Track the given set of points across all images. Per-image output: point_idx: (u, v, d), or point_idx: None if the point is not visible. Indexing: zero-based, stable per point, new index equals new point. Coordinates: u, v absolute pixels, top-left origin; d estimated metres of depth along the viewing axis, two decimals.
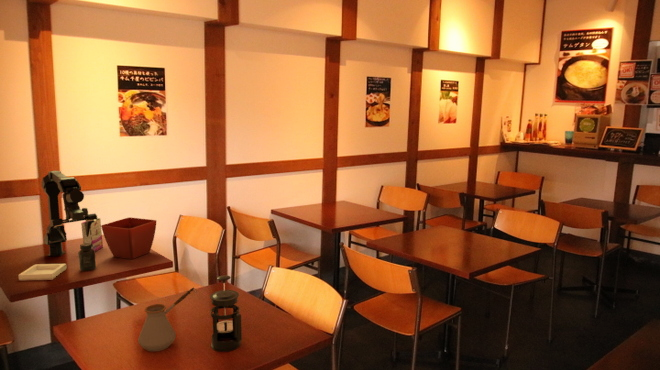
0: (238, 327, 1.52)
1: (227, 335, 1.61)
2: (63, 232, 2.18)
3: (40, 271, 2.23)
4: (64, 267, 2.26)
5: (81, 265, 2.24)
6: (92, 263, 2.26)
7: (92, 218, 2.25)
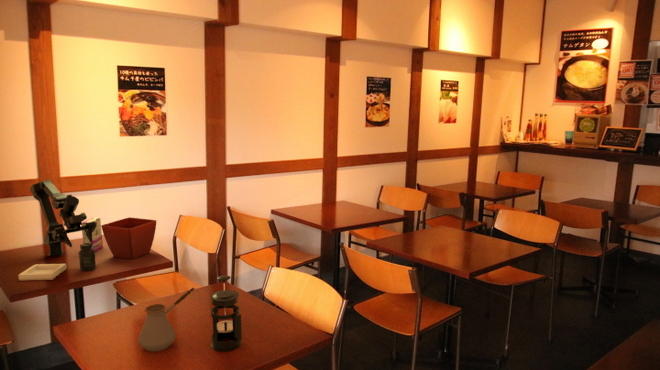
0: (238, 327, 1.52)
1: (227, 335, 1.61)
2: (67, 239, 2.25)
3: (40, 271, 2.23)
4: (64, 267, 2.26)
5: (81, 265, 2.24)
6: (92, 263, 2.26)
7: (92, 224, 2.35)
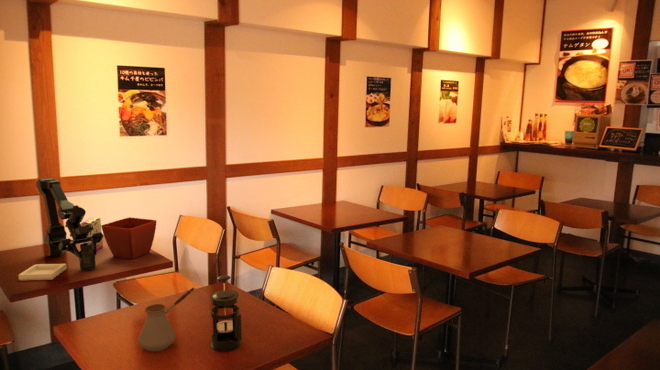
0: (238, 327, 1.52)
1: (227, 335, 1.61)
2: (76, 250, 2.23)
3: (40, 271, 2.23)
4: (64, 267, 2.26)
5: (81, 265, 2.24)
6: (92, 263, 2.26)
7: (98, 235, 2.32)
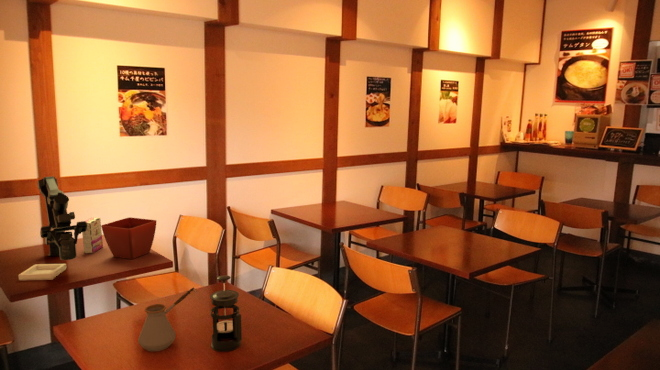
0: (238, 327, 1.52)
1: (227, 335, 1.61)
2: (55, 238, 2.19)
3: (40, 271, 2.23)
4: (64, 267, 2.26)
5: (60, 254, 2.20)
6: (71, 252, 2.20)
7: (81, 224, 2.26)
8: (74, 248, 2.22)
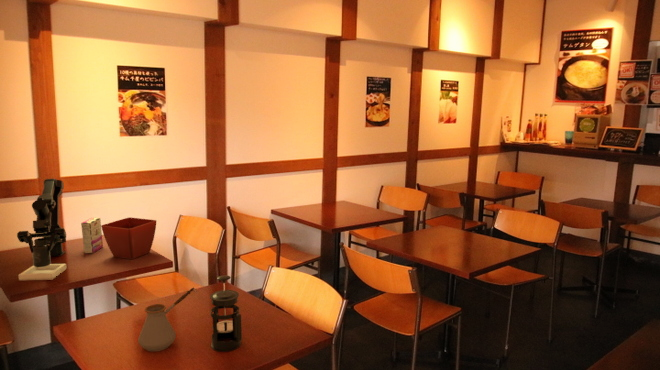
0: (238, 327, 1.52)
1: (227, 335, 1.61)
2: (29, 243, 2.17)
3: (40, 271, 2.23)
4: (64, 267, 2.26)
5: (33, 260, 2.17)
6: (42, 260, 2.17)
7: (58, 231, 2.22)
8: (46, 256, 2.18)
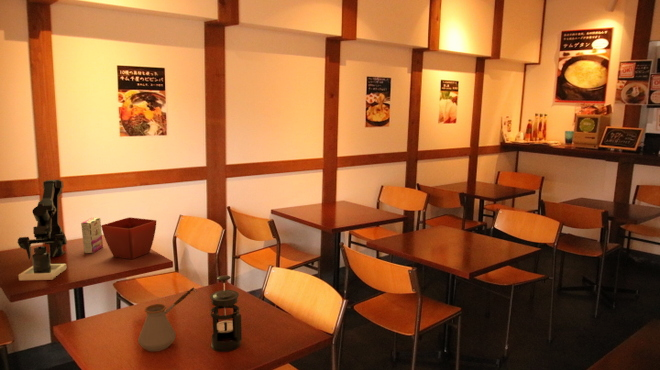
0: (238, 327, 1.52)
1: (227, 335, 1.61)
2: (27, 250, 2.17)
3: None
4: (64, 267, 2.26)
5: (33, 268, 2.18)
6: (42, 268, 2.17)
7: (58, 237, 2.22)
8: (46, 264, 2.18)
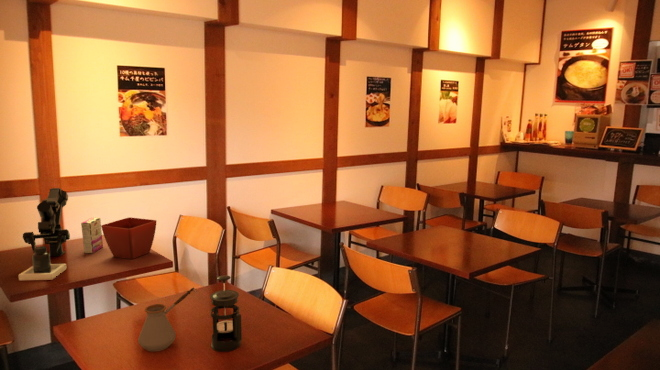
0: (238, 327, 1.52)
1: (227, 335, 1.61)
2: (32, 244, 2.25)
3: None
4: (64, 267, 2.26)
5: (33, 268, 2.18)
6: (42, 268, 2.17)
7: (62, 232, 2.30)
8: (46, 264, 2.18)
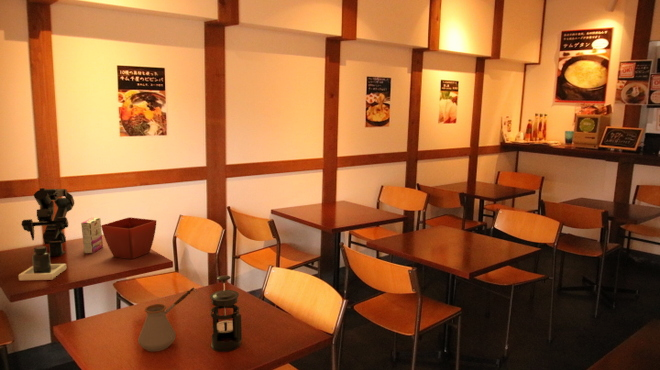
0: (238, 327, 1.52)
1: (227, 335, 1.61)
2: (31, 231, 2.28)
3: None
4: (64, 267, 2.26)
5: (33, 268, 2.18)
6: (42, 268, 2.17)
7: (60, 220, 2.33)
8: (46, 264, 2.18)
